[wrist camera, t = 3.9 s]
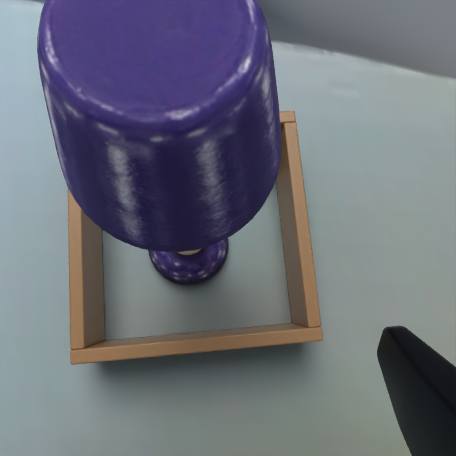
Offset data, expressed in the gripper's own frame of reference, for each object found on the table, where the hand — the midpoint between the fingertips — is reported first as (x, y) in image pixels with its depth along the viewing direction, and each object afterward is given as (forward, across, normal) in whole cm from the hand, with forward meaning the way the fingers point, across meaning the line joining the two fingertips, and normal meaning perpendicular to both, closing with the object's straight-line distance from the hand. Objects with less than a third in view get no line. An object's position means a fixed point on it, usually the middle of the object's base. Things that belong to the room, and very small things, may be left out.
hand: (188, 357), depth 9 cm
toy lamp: (+12, 0, +5) cm, 13 cm away
